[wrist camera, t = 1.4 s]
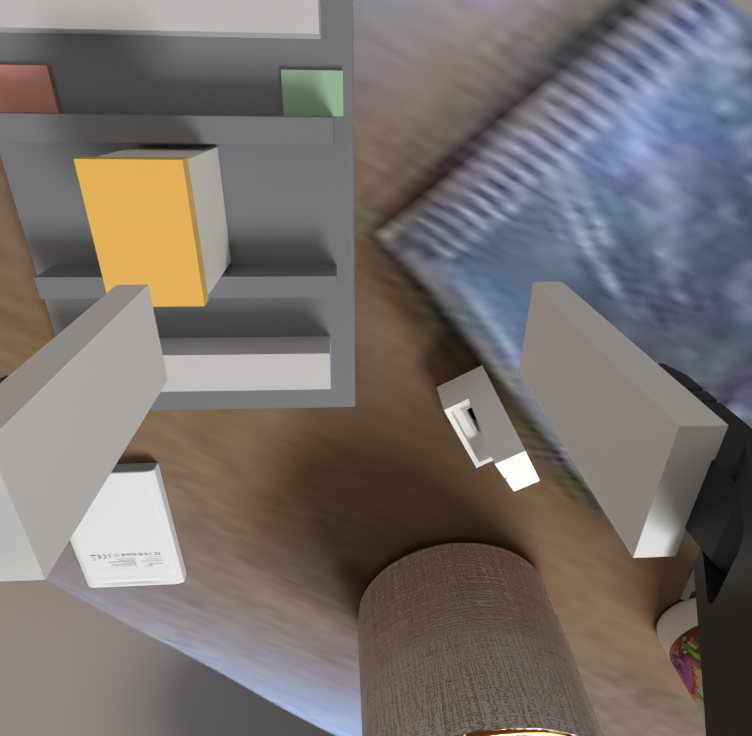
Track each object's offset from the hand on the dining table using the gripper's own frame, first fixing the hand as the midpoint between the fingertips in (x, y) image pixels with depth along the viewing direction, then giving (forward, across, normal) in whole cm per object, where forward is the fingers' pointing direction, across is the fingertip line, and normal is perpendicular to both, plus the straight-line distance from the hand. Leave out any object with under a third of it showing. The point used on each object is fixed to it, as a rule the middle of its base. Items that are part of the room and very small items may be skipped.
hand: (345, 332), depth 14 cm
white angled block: (+20, -10, +15) cm, 27 cm away
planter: (+20, -10, +37) cm, 43 cm away
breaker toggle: (+17, +9, 0) cm, 19 cm away
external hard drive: (+21, +19, +26) cm, 38 cm away
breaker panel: (+20, +8, 0) cm, 22 cm away
